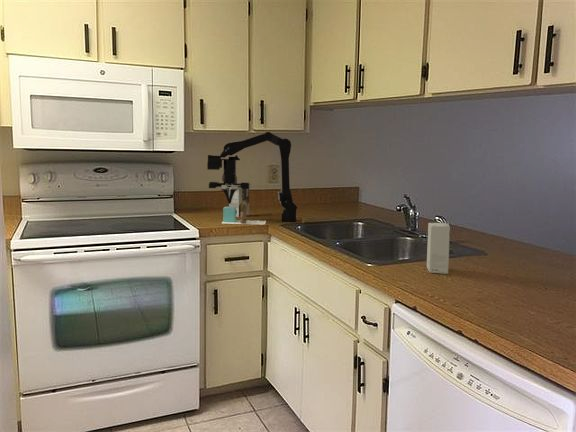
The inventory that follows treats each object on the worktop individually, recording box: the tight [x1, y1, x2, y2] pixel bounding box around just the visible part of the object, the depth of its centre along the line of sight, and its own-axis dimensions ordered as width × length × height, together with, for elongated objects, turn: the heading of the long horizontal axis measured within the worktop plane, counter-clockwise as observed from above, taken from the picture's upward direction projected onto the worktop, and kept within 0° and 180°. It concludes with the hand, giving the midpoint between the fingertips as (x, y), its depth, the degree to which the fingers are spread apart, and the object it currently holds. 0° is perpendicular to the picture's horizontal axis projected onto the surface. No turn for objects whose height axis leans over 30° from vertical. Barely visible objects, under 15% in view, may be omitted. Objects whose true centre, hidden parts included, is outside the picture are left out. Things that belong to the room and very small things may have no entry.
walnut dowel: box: [240, 212, 247, 225], centre depth 231 cm, size 3×3×6 cm
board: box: [221, 219, 267, 226], centre depth 235 cm, size 20×10×1 cm, turn 88°
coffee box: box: [228, 187, 250, 218], centre depth 253 cm, size 9×6×16 cm
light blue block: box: [222, 206, 237, 222], centre depth 235 cm, size 5×5×7 cm
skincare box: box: [426, 222, 451, 275], centre depth 157 cm, size 8×6×15 cm
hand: (229, 203), depth 235 cm, fingers closed
